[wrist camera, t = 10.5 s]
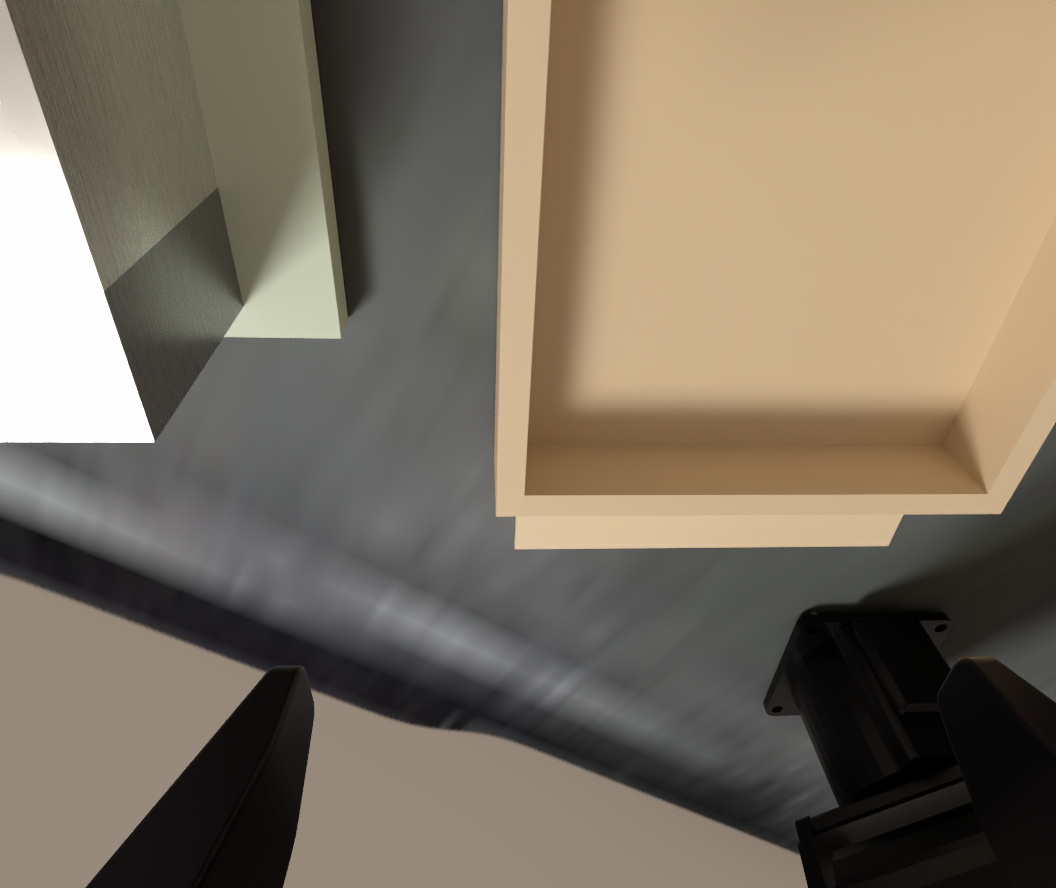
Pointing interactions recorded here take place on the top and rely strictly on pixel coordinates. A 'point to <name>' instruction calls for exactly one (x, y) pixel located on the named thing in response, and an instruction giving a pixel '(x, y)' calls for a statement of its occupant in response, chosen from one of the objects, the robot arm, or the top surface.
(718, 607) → the top surface
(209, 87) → the sage board
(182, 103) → the metal tin
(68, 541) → the top surface
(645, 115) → the tray
